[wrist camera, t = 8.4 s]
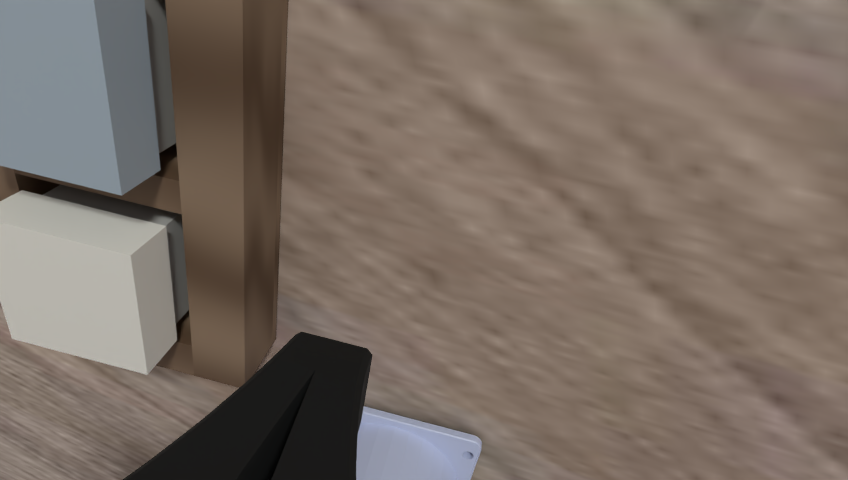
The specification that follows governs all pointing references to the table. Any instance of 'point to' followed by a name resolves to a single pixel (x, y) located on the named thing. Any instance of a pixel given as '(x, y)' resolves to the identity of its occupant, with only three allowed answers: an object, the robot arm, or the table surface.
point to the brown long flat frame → (218, 180)
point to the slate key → (85, 90)
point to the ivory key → (92, 275)
